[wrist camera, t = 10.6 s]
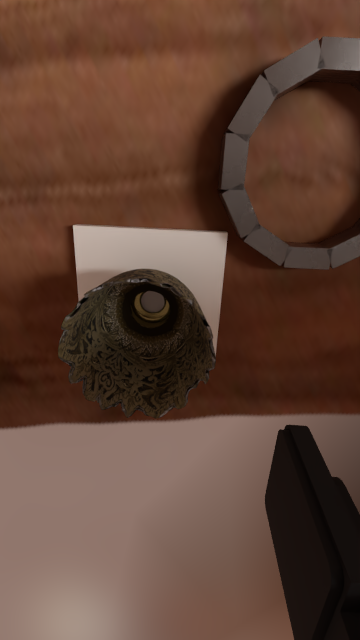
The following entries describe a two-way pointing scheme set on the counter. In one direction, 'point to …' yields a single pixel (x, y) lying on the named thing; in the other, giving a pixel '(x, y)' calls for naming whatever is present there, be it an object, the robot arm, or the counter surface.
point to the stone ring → (289, 73)
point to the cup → (138, 344)
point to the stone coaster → (154, 261)
